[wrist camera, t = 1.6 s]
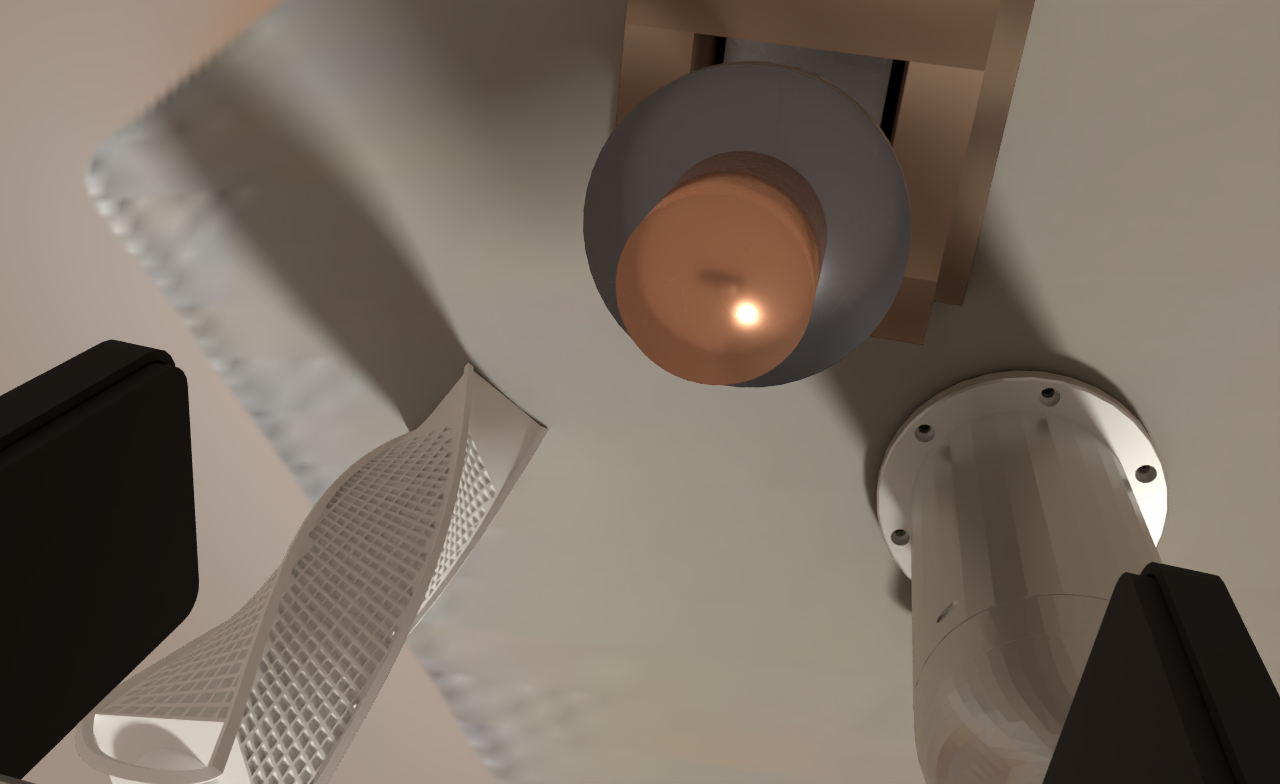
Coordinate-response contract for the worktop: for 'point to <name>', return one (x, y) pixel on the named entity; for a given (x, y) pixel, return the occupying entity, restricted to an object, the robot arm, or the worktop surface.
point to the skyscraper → (322, 612)
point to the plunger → (752, 215)
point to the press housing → (913, 111)
